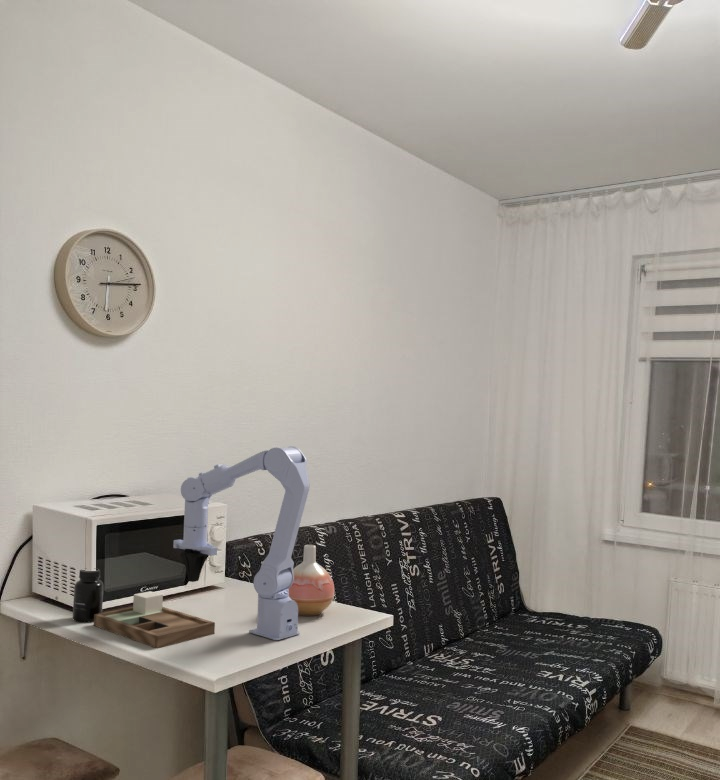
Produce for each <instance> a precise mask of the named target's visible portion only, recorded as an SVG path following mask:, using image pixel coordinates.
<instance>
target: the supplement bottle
mask: <svg viewBox="0 0 720 780" xmlns="http://www.w3.org/2000/svg"><path fill="white" fill-rule="evenodd" d="M97 569H98V570H96V571H85V570H82V569H80V570H79V573H78V574H79V576H78V578H79V580H77V581H76V582H75V584H74V587H73V588H74V589H73V602H72V605H73V606H72V619H74V620H73V621H75V622H77V621H78V622H77V623H94V614H99V613H103V602H104V582H103V581H102V580H101V579H100V578H101V569H99V568H97Z"/></svg>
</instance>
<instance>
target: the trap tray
mask: <svg viewBox="0 0 720 780" xmlns="http://www.w3.org/2000/svg"><path fill="white" fill-rule="evenodd" d="M215 624H216V623H215V622H214V621H212V620H207V619H205V618H203V617H202V618H201V617H197V616H195V615H192V614H187V613H184V612H181V611H178V610H174V609H171V608H168V607H164V606H162V611H159V612H155V613H150V614H142V613H139V612H136V611H133V606H130V607H124V608H119V609H116V610H110V611H109V610H108V611H105V612H102V613H99V614H94V622H93V626H94V627H96V628H100V629H103V630H104V631H105V630H106V631H108V632H110V633H114V634H116V635H120V636H121V637H125V638H127V639H131V640H133V641H135V642H139V643H141V644H144V645H147V646H150V647H153V648H156V649H160V648H163V647H168V646H172V645H175V644H176V645H177V644H180V643H183V642H187V641H191V640H195V639H199V638H203V637H207V636H210V635H211V636H212V635H215V632H216V631H215V630H216V629H215V628H216V625H215Z"/></svg>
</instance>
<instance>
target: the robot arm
mask: <svg viewBox="0 0 720 780" xmlns="http://www.w3.org/2000/svg"><path fill="white" fill-rule="evenodd" d="M307 462H308V459H307V458H306V456H305V455H304V453H303V452H302V450H301V449H300V448H298V447H296V446H288V447H278V446H277V447H272V448H270V449H268V450H266V449H265V450H262V451H260V452H258V453H256V454H254V455H251V456H249V457H247V458H245V459H243V460H242V461H239V462H238V463H236V464H234V465H232V466H228V465H226V464H221V463H220V464H215V465H214V466H213V468H212V469H211V470H209V471H206V472H204V471H202V472H199V473H198V476H197V477H192V476H191V477H187V479H185V480H183V482H182V483H181V485H180V494H181V497H182V498H183V499H184V516H183V517H184V518H183V519H184V520H183V537H182V539H174V540H173V544H172V545H173V549H181V550H184V552H180V554H179V556H180V557H181V559H182V561H183V563H184V567H185V569H186V570H185V571H186V575H187V579H188V580H187V581H188V582H191V583H195V582H198V581H199V579H200V577H201V573H202V569H203V567H204V565H205V562H206V561H207V559H208V557H213V556H217V555H218V547H217V546H214V545H212V544H210V541H208V525H209V524H208V518H209V504H210V499H211V497H212V496H213V495H216V494H218V493H220V492H222V491H225V490H227V489H229V488H231V487H233V486H234V485H235V483H236V480H237V479H239V478H242V477H244V476H247V475H249V474H252V473H254V472H257V471H260V470H261V471H267V472H268V473H270V475H272V477H274V478H275V479H277V481H279V482H280V484H281V485H282V487H283V489H284V495H283V497H282V498H283V499H282V503H281V507H280V510H279V513H278V517H277V521H276V525H275V528H274V532H273V536H272V537H273V538H272V541H271V545H270V547H269V553H268V554H267V556H266V557H265V558H264V559H263V561H262V563H261V566H260V568H259V570H258V572H256V573H255V576H254V578H253V588H254V590H255V592H256V593H257V616H256V617H257V618H256V619H257V621H256V628H253V629H249V630H248V633H249V634H253V635H257V636H259V637H260V636H261V637H264V638H266V639H270V640H273V641H279V640H283V639H285V638H290V637H293V636H297V635H300V634H301V632H300V631H298V630H299V629H298V628H299V627H298V626H299V615H298V605H297V603H296V602H295V601H294V600H292V599H291V598H290V597H289V587H290V586H291V585H292V583H293V580H294V574H293V569H294V565H295V562H294V560H293V558H292V555H293V551H294V549H295V548H294V547H295V543H296V541H297V538H298V537H297V536H298V532H299V530H300V529H299V528H300V526H301V525H300V524H301V522H302V517H303V513H304V511H305V506H306V502H307V499H308V495H309V492H310V480H309V479H310V478H309V475H308V470H307V469H308V468H307Z"/></svg>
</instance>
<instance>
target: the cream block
mask: <svg viewBox="0 0 720 780" xmlns="http://www.w3.org/2000/svg"><path fill="white" fill-rule="evenodd" d="M163 598H164V595H163V594H161V593H158V592H154V591H151V590H149V591H144V592H138V593H135V594H133V600H132V601H133V605H132V607H133V611H136V612H139V613H142V614H150V613H155V612H159V611H162V607H163V600H164V599H163Z"/></svg>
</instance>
